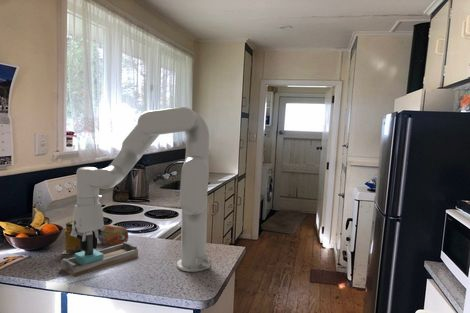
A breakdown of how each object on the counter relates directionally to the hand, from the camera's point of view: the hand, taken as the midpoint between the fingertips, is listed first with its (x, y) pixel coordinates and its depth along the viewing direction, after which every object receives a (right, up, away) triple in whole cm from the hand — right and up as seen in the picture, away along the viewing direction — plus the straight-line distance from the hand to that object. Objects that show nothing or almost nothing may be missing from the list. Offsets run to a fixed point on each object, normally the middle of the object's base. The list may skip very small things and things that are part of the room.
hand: (89, 248), depth 132 cm
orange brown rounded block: (+1, -5, +25) cm, 25 cm away
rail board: (+3, -6, +4) cm, 8 cm away
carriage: (0, -5, 0) cm, 5 cm away
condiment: (-12, -5, +16) cm, 21 cm away
